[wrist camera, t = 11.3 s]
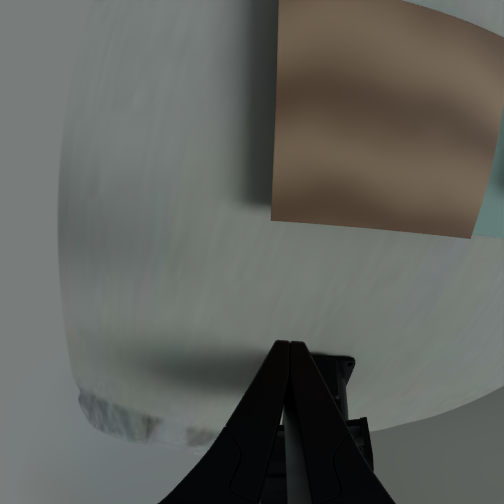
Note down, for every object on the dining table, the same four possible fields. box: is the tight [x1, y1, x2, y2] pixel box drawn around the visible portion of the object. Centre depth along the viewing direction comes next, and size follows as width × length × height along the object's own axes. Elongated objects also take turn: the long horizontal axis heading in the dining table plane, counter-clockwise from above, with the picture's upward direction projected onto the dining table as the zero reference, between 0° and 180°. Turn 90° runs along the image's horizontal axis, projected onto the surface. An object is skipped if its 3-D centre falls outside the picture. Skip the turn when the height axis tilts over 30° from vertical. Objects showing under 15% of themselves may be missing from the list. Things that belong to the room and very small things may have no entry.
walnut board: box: [271, 0, 504, 239], centre depth 15 cm, size 13×13×2 cm
